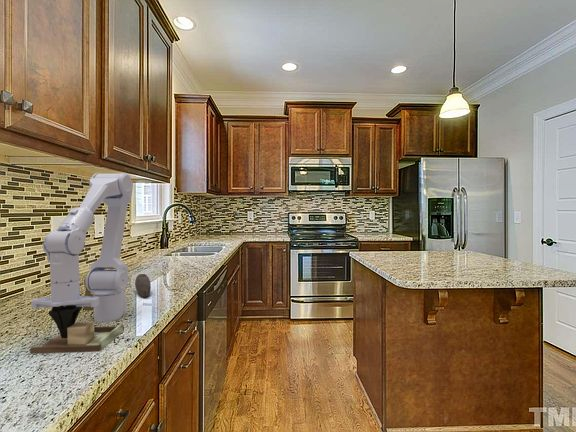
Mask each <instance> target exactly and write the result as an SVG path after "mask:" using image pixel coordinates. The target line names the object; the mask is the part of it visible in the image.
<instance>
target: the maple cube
mask: <svg viewBox="0 0 576 432" xmlns="http://www.w3.org/2000/svg"><path fill="white" fill-rule="evenodd" d="M94 327H95V321H75V324H73V325H72V326H70V327H68V328H67V335H68V345H79V346H80V345H84V344H87V343H88V342H89V341H91V340H92V339H93V338H94V337H95V332H94Z"/></svg>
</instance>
